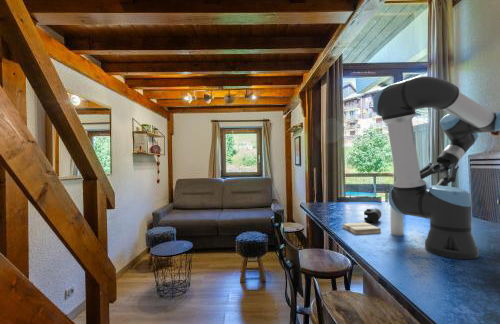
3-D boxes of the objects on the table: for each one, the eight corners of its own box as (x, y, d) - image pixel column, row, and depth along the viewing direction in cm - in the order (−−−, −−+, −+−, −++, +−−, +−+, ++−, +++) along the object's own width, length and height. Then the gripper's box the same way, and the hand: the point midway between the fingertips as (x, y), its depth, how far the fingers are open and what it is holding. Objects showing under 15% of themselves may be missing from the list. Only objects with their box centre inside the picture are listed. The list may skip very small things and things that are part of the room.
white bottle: (406, 235, 110) (405, 201, 110) (396, 235, 109) (395, 202, 109) (398, 232, 115) (397, 199, 115) (388, 232, 114) (387, 200, 114)
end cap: (379, 225, 128) (378, 212, 128) (364, 223, 132) (363, 210, 132) (381, 220, 136) (381, 208, 136) (367, 219, 140) (367, 207, 140)
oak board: (380, 232, 114) (380, 228, 114) (356, 234, 113) (356, 230, 113) (365, 226, 126) (365, 222, 126) (343, 227, 125) (343, 223, 125)
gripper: (483, 162, 104) (452, 200, 102) (432, 162, 128) (407, 192, 127) (472, 150, 103) (440, 187, 101) (422, 152, 128) (397, 182, 126)
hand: (422, 190), depth 114 cm, fingers open, 13 cm apart
